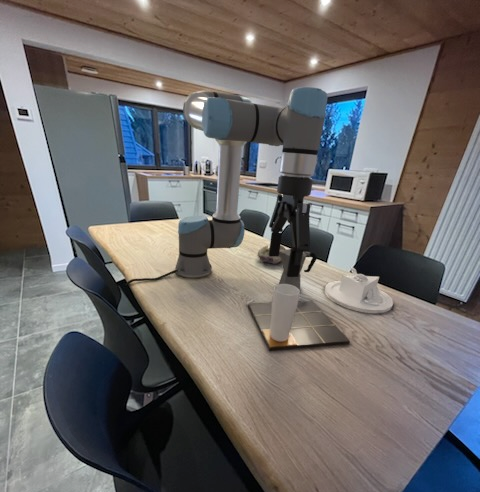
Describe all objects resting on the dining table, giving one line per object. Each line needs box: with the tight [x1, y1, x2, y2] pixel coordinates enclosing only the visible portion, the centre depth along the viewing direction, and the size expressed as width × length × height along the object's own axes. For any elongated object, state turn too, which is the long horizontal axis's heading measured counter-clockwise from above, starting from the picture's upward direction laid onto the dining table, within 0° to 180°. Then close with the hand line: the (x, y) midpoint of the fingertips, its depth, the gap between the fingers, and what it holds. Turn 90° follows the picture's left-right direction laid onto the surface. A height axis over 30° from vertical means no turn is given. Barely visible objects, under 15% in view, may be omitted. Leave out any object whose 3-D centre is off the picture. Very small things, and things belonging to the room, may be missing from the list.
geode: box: [256, 244, 287, 265], centre depth 133 cm, size 17×9×15 cm
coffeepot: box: [278, 248, 318, 290], centre depth 102 cm, size 15×9×18 cm, turn 92°
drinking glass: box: [270, 283, 301, 342], centre depth 71 cm, size 7×7×15 cm
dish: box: [324, 266, 394, 314], centre depth 101 cm, size 25×25×11 cm
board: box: [247, 300, 351, 352], centre depth 83 cm, size 24×24×1 cm
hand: (282, 265), depth 68 cm, fingers open, 13 cm apart
